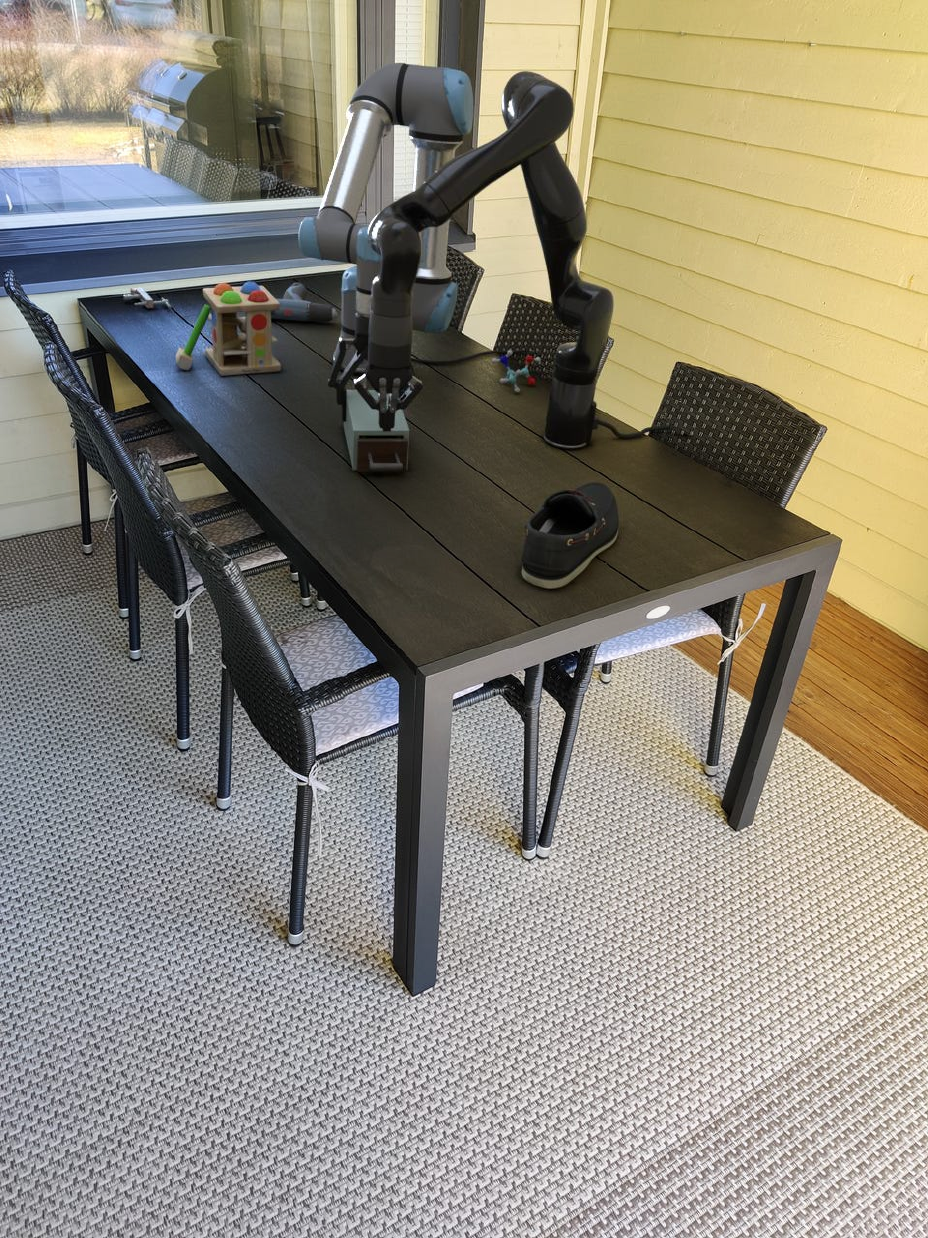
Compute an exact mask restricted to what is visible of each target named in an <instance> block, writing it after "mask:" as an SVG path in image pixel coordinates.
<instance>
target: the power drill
mask: <svg viewBox="0 0 928 1238" xmlns="http://www.w3.org/2000/svg"><path fill="white" fill-rule="evenodd" d="M307 295H308V290H307V287H306V285H304V284H303V283H301V282H293V283H292V284H291V285H290V286H289V287H288V288H287V289H286V291H285V292H284V294H283V297H282V298H275V299H276V300H277V301H278V302H279V303H280V310H271V319H274V320H275V319H276V320H283V321H294V322H295V321H297V322H332V321H333V320H334V319H336V318H337V317H338V312H337V311H336V308H334V307H333V306H332V305H331V304H324V303H317V302H313V301H307V300H305V299H306V297H307Z"/></svg>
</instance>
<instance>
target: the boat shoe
mask: <svg viewBox="0 0 928 1238" xmlns="http://www.w3.org/2000/svg"><path fill="white" fill-rule="evenodd" d="M523 528H524V529H523V530H524V533H525V540H524V543H523V548H522V553H521V556H520V561H521V562H522V567H521V576H522V578H523V579H524V580H525V581H526V582H527V583H529V584H531V585H533V586H536V587H539V588H542V589H543V588H544V589H550V590H551V589H559V588H562V587H564V586H566V585H568V584H569V583H570V582H571V581H573V580H574V579H575V578H576V577H578V575H580V574H581V573H582V572H583V571H584V570H585V569H586V568H587V567H588V565H589V564H590V563H591V561H592V560H593V559H594V558H596V556H598V554H600V553H602V552H603V551H605V550H606V549H608V548H610V547H611V546H612V545H613V544H614V543H615V541H616V540H617V538H618V534H619V528H620V519H619V509H618V504H617V499H616V497H615V494H614V493H613V492H612V490H611V488H610V487H608V485H606V484H604V483H602V482H598V481H593V482H587V483H585V484H582V485H580V486H578V487H576V488H575V489H565V488H563V489H561V490H558V491H557V492H554V493H552V494H550V495H549V496H548V497H546V499H545V501H544V502H543V503H542V505H541V507H540V509H538V510H537V511H536V512H535V513H534V514H533V515H531V516H530V517H529V518H528V520H527V521H526V523H525V525H524V527H523Z"/></svg>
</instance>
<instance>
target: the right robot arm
mask: <svg viewBox="0 0 928 1238" xmlns="http://www.w3.org/2000/svg"><path fill="white" fill-rule="evenodd" d="M502 91H503V92H502V96H501V115H502V118H503V122H504V125H505V128H506V130H505V131H504V132H503V133H501V134H500V135H499V136H497V137H495V138H493V139H491V140H490V141H488V142H486V143H484V144H482V145H480V146H477V147H476V148H475V147H474V148H472V149H470V150H468V151H466V152H464V153H461V154H459V155H457V156H454V158H453V159H451V160H450V161H448V162H447V163H445V164H444V165H443V166H441V167H440V168H439V169H438V170H437V171H435V172H434V173H433V174H432V175H431V176H430V177H429V178H428V179H427V180H425V181H424V182H423V183H422V184H421V185H420V186H419V187H418V188H417V189H416V190H415V191H413V192H412V191H411V192H410V193H408V194H406V195H404V196H401V197H400V198H399V199H397V200H395V201H393V202H392V203H391V204H389V205H387V206H386V207H384V208H383V209H382V210H380V211H379V212H378V213H377V214H376V215H375V217H374V218H373V219H372V220H371V222H370V224H369V225H368V226H369V228H368V233H367V238H368V242H369V245H370V246H371V248H372V249H373V250H374V251H375V252H376V253H377V254H379V255H380V256H382V263H381V270H380V274H379V275H377V276H376V277H375V278H374V280H373V283H372V290H371V314H370V320H369V329H368V335H369V340H368V365H367V368H366V369H365V374H364V375H361V376H360V377H356V378H353V380H352V383H353V387H354V390H357V391H358V393H359V394H360V395H361V396H362V398H363V399H364V400H365V401H366V403H367V404H368V405H369V406H370V408H371V409H373V410H378V411H379V419H378V423H379V427H380V428H382V430H383V432H391V428H394V426H395V413H396V411H397V410H400V409H401V410H403V411H404V410H406V409H407V407H409V405H410V404H411V403H412V402H413V401H414V399H415V398H416V397H417V396H418V395H419V394H420V393H421V391H422V390H423V389H424V384H423V382H422V380H421V379H420V378H417V377H416V376H415V377H414V376H413V373H412V370H411V368H410V362H411V363H412V361H411V358H412V343H413V330H412V298H413V285H414V282H415V279H416V276H417V272H418V268H419V264H420V259H421V253H422V243H421V237H420V232H421V231H422V230H424V229H426V228H428V227H439V226H441V225H443V224H444V223H446V222H447V221H448V220H449V221H450V220H451V219H452V218H453V217H454V216H455V215H456V214H457V213H458V212H460V211H461V210H462V209H463V208H464V207H465V206H466V205H467V204H469V202H470V201H471V200H473V199H475V197H476V196H478V195H479V194H480V193H481V192H482V191H484V190H485V189H486V188H488V187H489V186H491V185H492V184H493V183H494V182H497V181H498V180H499V179H501V178H503V176H505V175H507V174H508V173H510V172H511V171H513V170H515V169H516V168H518V167H519V166H520V169H521V172H522V176H523V181H524V184H525V189H526V192H527V196H528V199H529V204H530V207H531V208H530V209H531V212H532V217H533V220H534V225H535V228H536V232H537V236H538V239H539V242H540V246H541V250H542V254H543V258H544V262H545V267H546V272H547V277H548V278H547V279H548V285H549V291H550V300H551V304H552V311H553V314H554V317H555V319H556V320H557V321H558V323H560V324H561V325H563V326H564V327H566V328H570V329H572V330H576V331H579V334H578V338H577V341H573V342H566V343H562V344H559V346H558V347H557V348H556V350H555V357H554V362H553V370H552V378H551V386H550V391H549V399H548V406H547V413H546V417H545V421H546V422H545V427H544V433H543V441H544V442H545V443H546V444H548V445H549V446H552V447H555V448H556V449H557V448H558V449H563V450H578V449H582V448H584V447H590V446H591V442H592V435H593V431H594V430H595V431H597V430H598V427H599V426H602V427H604V428H606V429H608V430H610V431H611V433H612V434H613V435H614V436H615V437H616V438H619V439H623V440H628V439H629V440H630V439H635V438H639V437H642V436H643V435H645V434H647V433H650V432H651V433H652V432H657V431H665V430H666V431H668V430H669V429H670V426H669V425H670V424H666V425H665V424H663V425H657V426H649V427H645V428H643V429H641V430H640V431H638V432H637V431H636V432H632V433H620V432H619V431H618V430H617V428H616V427H615V426H613V425H612V424H610V423H609V422H607V421H604V420H601V419H599V418H598V417H597V416H596V413H597V406H598V404H597V402H596V401H595V395H596V389H597V383H598V376H599V370H600V365H601V360H602V357H603V355H604V353H605V350H606V347H607V342H608V337H609V332H610V327H611V323H612V320H613V314H614V307H615V303H614V302H615V300H614V296H613V292H612V291H611V290H610V289H609V288H607V287H604V286H601V285H599V284H595V283H593V282H589V281H585V280H583V279H582V278H581V276H580V274H579V271H578V266H577V261H576V259H577V255H578V253H579V251H580V249H581V247H582V245H583V244H584V242H585V239H586V236H587V232H588V218H587V213H586V209H585V204H584V199H583V196H582V193H581V189H580V187H579V185H578V183H577V181H576V179H575V177H574V175H573V174H572V172H571V170H570V168H569V165H568V164H567V163H566V161H565V160H564V158H563V156H562V154H561V153H560V151H559V148H558V146H557V144H556V142H557V141H558V140H560V138H561V137H562V136H563V135H565V133H566V132H567V131H568V130H569V128H570V126H571V124H572V121H573V117H574V113H575V107H574V106H575V103H574V99H573V98H572V95H571V94H570V91H568V90H567V89H566V88H565V87H563V86H561V85H560V84H558V83H557V82H555V81H552V80H551V79H549V78H547V77H545V76H544V75H542V74H539V73H536V72H534V71H529V70H523V71H519V72H517V73H515V74H513V75H512V76H511V77H510V78H509V80H508V81H507V82H506V85H505V86H504V88H503V90H502ZM409 381H410V383H409ZM368 383H369V384H370V386H371V387H372V388H373V390H375V391H376V392H377V393H378V401H377V400H375V399H374V398H373V396H372V395H371V394H370V392H369V391H368V390H369V389H368V387H369V386H368V385H369V384H368ZM408 383H409V385H408V386H409V388H408V389H407V390H406V392H405V393H404V394H403V395H402V396H401V397H400V398H399V400H398V395H399V393H400V392H401V391H402V390H403V389H404V387H405V386H406V385H407V384H408ZM387 394H389V399H388V409H387ZM652 427H653V428H652ZM669 431H670V430H669ZM684 435H685V436H686V437H690V438H691V436H688V435H687V434H684Z"/></svg>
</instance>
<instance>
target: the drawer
mask: <svg viewBox="0 0 928 1238" xmlns="http://www.w3.org/2000/svg"><path fill="white" fill-rule="evenodd" d="M407 450H408V451H409V448H408V440H407V439H401V435H359V439H357V470H356V471H357V473H363V472H364V473H366V472H367V473H368V472H370V473H371V472H373V473H374V472H385V473H386V472H407V470H406V468H407V469H408V465H407Z"/></svg>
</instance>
